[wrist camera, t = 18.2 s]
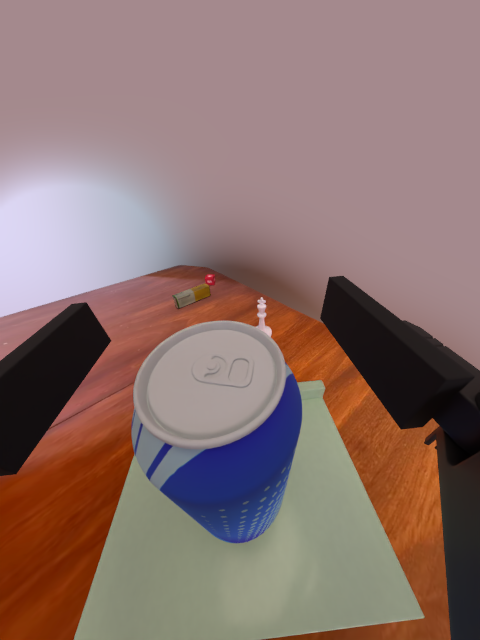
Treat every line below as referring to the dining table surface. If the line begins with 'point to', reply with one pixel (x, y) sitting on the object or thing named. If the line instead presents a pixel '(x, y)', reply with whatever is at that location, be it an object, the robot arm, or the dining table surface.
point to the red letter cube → (210, 279)
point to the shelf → (252, 558)
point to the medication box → (191, 295)
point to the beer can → (218, 426)
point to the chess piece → (262, 314)
